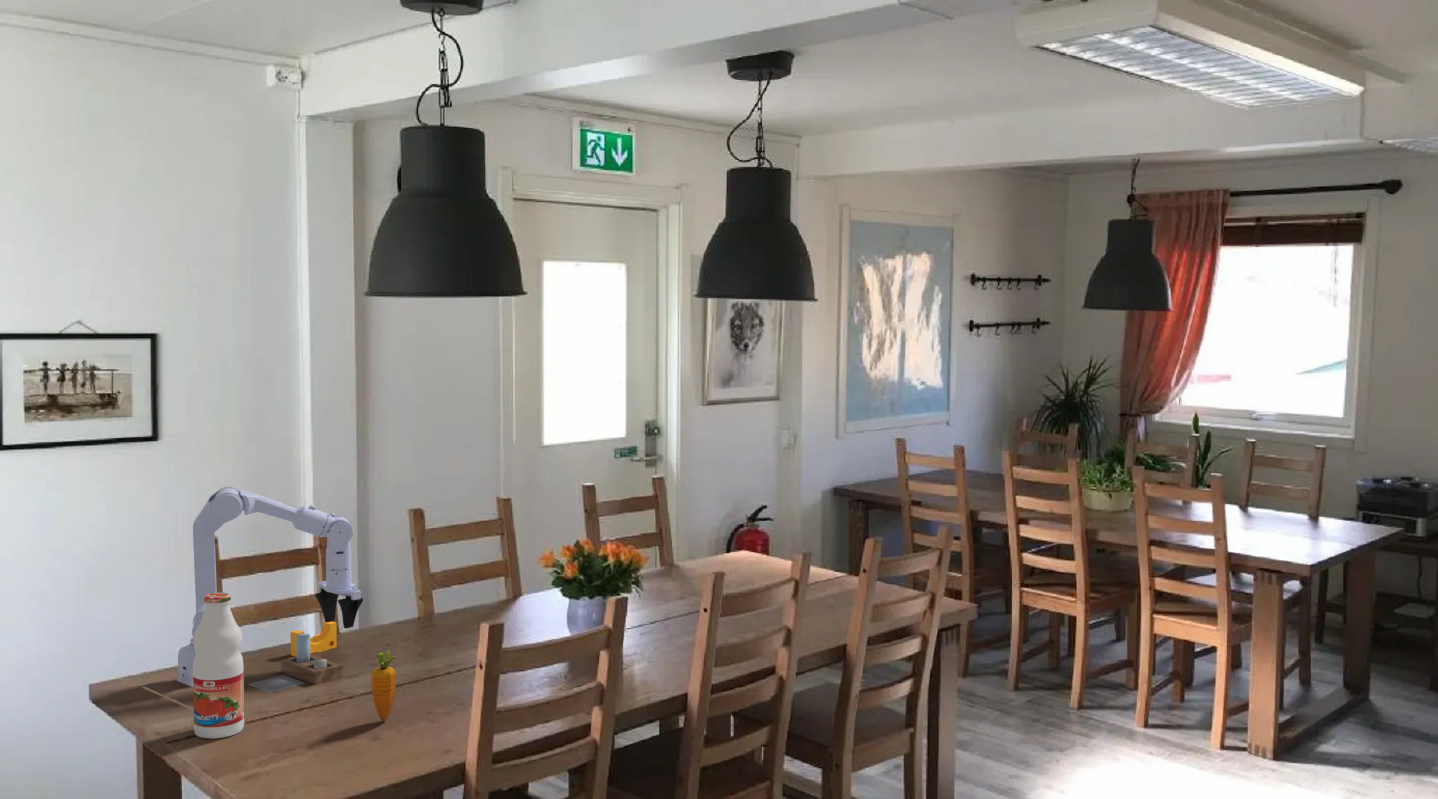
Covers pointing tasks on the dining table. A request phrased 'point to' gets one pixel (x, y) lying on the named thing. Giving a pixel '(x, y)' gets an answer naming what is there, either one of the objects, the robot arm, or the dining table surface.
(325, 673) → the hole block
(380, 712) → the carrot
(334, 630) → the pipe clamp
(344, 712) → the dining table surface
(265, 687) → the mat
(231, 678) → the white yogurt drink bottle
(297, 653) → the dowel
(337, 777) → the dining table surface
